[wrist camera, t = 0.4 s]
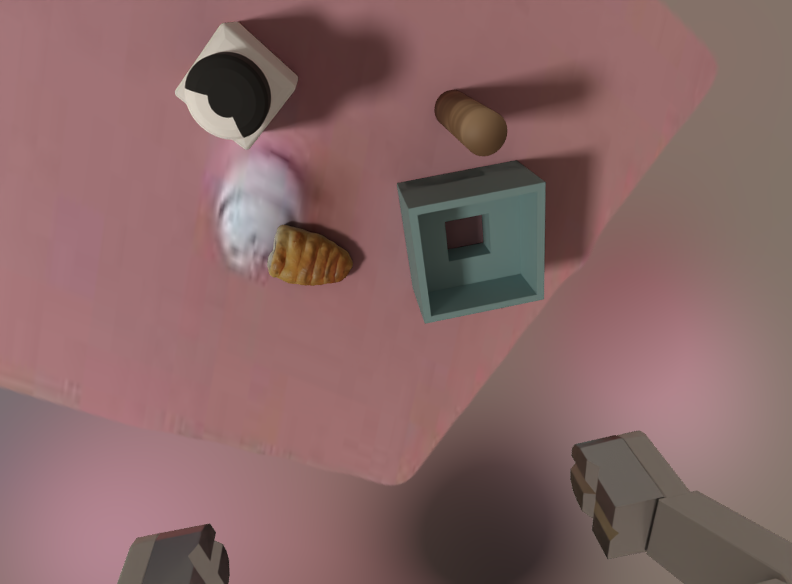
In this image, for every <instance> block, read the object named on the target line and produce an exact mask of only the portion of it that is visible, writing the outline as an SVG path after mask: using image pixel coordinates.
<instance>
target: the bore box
mask: <svg viewBox="0 0 792 584" xmlns="http://www.w3.org/2000/svg"><path fill="white" fill-rule="evenodd" d="M397 188H398V194H399V201H400V207H401V214H402V220H403V227H404V233H405V240H406V246H407V253H408V259H409V266H410V272H411V279H412V285H413V290H414V293H415V296H416V299H417V302H418V305H419V308H420V311H421V314H422V317H423V320H424V323H430V322H435V321H440V320H445V319H450V318H455V317H460V316H465V315H469V314H474V313H479V312H484V311H489V310H494V309H499V308H504V307H509V306H514V305H518V304H523V303H528V302H533V301H538V300H543V299H544V254H545V181H543V180H542V179H541V178H539V177H538V176H537V175H535V174H534V173H533V172H531V171H530V170H529V169H527V168H526V167H525V166H523V165H522V164H521V163H520V162H518V161H517V160H515V161H510V162H505V163H500V164H494V165H489V166H484V167H479V168H474V169H468V170H463V171H458V172H453V173H448V174H442V175H437V176H432V177H427V178H422V179H416V180H411V181H406V182H401V183H397ZM477 215H482V226H483V243H479V244H474V245H469V246H464V247H459V248H454V249H449V250H448V249H447V239H446V230H445V222H447V221H452V220H457V219H462V218H467V217H472V216H477Z"/></svg>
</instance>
